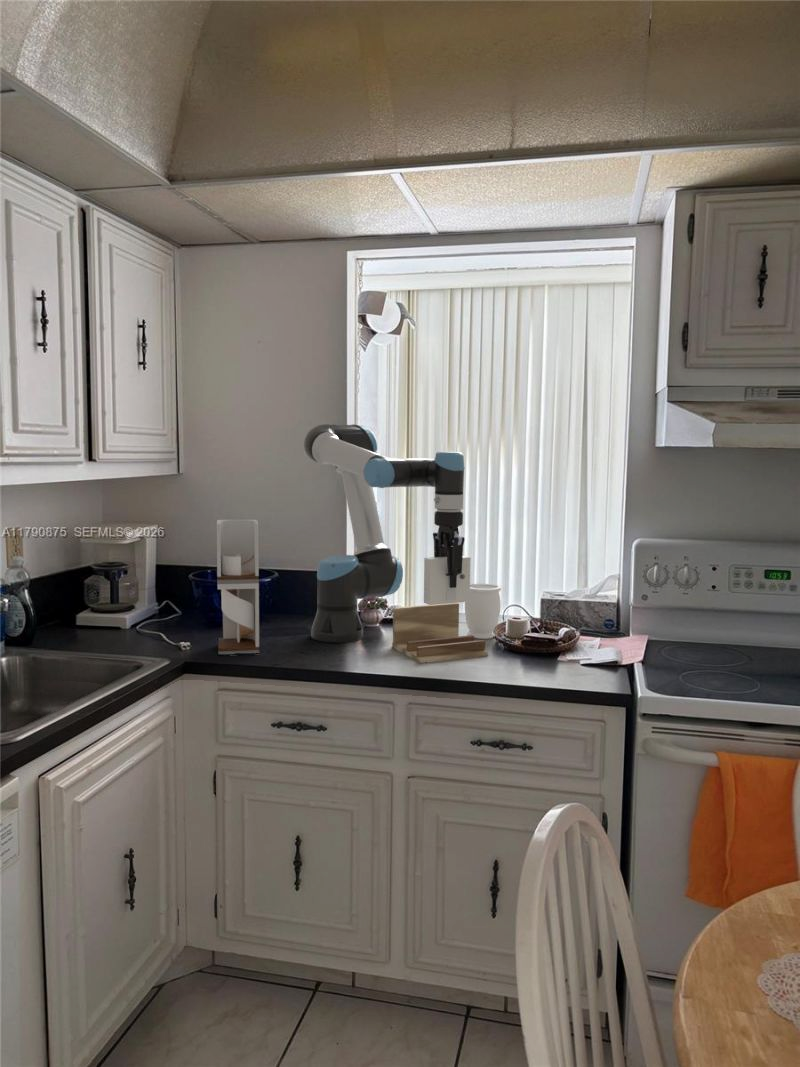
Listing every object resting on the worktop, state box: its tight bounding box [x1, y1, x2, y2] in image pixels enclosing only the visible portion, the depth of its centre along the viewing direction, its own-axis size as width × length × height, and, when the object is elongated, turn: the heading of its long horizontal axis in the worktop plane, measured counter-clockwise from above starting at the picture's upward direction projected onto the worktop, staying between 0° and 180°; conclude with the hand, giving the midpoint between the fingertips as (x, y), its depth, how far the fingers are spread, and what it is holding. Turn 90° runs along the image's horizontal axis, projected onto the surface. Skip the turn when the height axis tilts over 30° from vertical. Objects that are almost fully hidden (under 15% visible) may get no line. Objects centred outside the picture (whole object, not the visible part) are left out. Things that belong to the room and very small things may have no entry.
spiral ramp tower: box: [216, 519, 260, 654], centre depth 215 cm, size 11×11×35 cm
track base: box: [391, 603, 489, 664], centre depth 217 cm, size 18×20×11 cm
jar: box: [464, 583, 502, 640], centre depth 235 cm, size 11×10×15 cm
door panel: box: [423, 555, 471, 605], centre depth 212 cm, size 4×12×12 cm, turn 115°
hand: (447, 597), depth 213 cm, fingers closed on door panel, 3 cm apart
